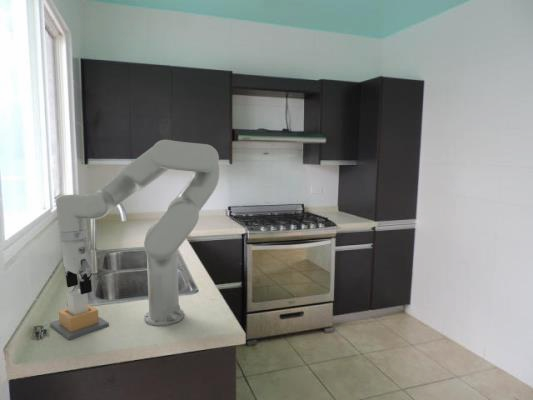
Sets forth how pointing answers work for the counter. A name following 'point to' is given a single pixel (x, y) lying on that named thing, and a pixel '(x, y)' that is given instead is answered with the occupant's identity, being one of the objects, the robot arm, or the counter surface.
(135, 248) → the counter surface
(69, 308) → the white plug
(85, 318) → the socket block
